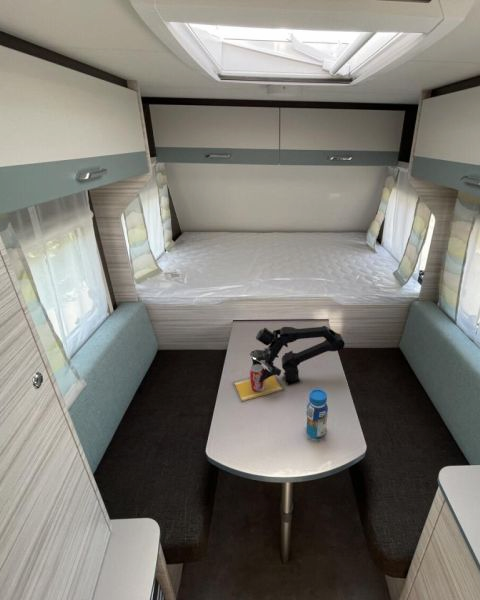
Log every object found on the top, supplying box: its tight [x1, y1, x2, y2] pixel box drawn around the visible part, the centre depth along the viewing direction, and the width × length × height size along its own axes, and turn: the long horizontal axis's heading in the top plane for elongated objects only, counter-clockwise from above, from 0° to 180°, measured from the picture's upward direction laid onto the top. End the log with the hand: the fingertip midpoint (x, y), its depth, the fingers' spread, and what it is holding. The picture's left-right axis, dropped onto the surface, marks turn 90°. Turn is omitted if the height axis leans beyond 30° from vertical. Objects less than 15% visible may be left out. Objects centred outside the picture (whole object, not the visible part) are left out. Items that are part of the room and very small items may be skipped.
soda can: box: [249, 364, 265, 392], centre depth 153 cm, size 7×7×12 cm
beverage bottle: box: [305, 388, 329, 441], centre depth 128 cm, size 8×8×20 cm
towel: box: [233, 375, 283, 402], centre depth 159 cm, size 20×14×1 cm
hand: (255, 378), depth 152 cm, fingers closed on soda can, 7 cm apart
